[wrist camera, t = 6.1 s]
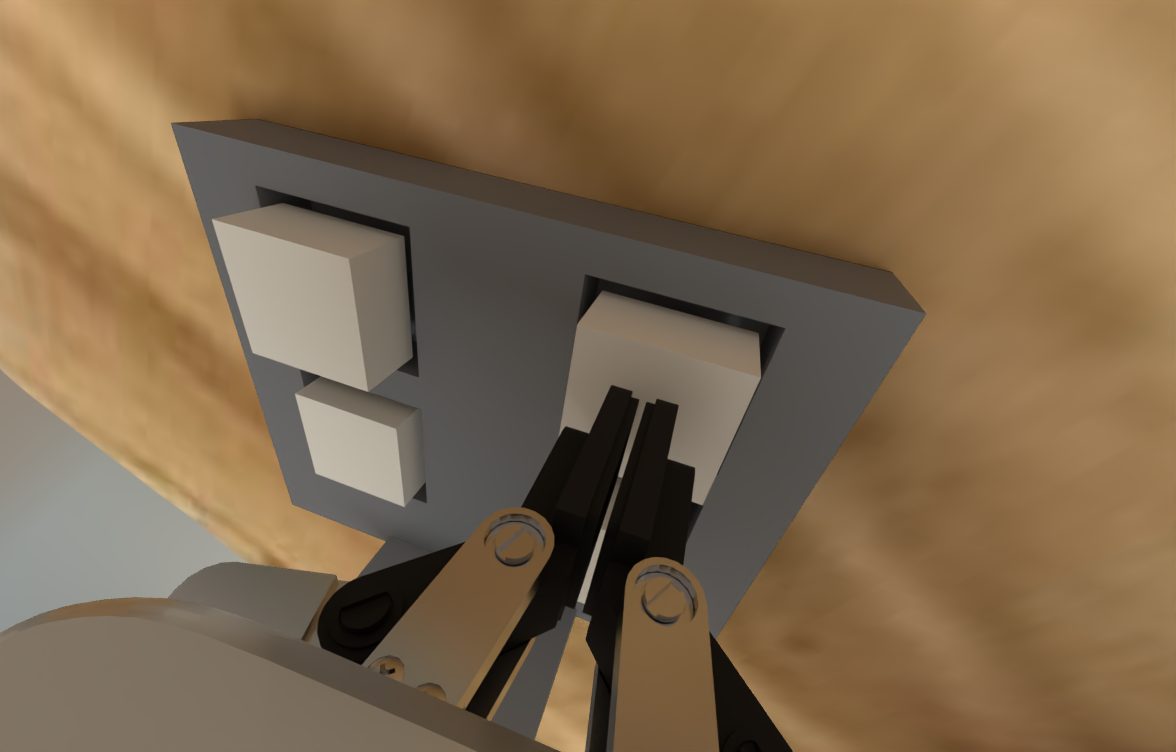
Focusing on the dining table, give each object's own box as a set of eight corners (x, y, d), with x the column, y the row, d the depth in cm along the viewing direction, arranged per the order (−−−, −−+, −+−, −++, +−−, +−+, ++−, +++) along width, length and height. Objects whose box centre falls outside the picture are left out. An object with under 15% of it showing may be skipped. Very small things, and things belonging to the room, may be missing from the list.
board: (892, 272, 13) (926, 313, 11) (704, 604, 23) (698, 664, 21) (256, 118, 16) (170, 122, 14) (334, 466, 26) (292, 504, 24)
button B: (404, 236, 14) (348, 258, 12) (412, 357, 17) (367, 392, 15) (282, 203, 15) (211, 219, 13) (308, 323, 17) (252, 353, 15)
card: (577, 607, 21) (515, 796, 15) (575, 616, 22) (513, 802, 16) (390, 534, 23) (270, 681, 17) (391, 543, 23) (275, 689, 17)
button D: (432, 394, 19) (396, 428, 17) (435, 469, 21) (404, 506, 19) (339, 364, 20) (294, 393, 18) (353, 440, 22) (315, 473, 20)
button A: (758, 333, 12) (761, 377, 10) (708, 451, 15) (702, 505, 13) (602, 290, 13) (577, 324, 11) (579, 410, 16) (555, 455, 14)
